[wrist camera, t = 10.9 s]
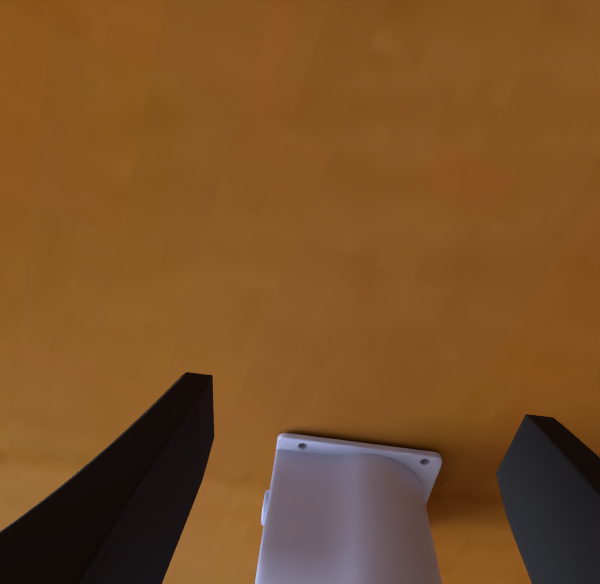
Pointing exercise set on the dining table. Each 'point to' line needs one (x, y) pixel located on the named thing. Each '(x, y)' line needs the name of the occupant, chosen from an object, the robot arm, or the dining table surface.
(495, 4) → the dining table surface
